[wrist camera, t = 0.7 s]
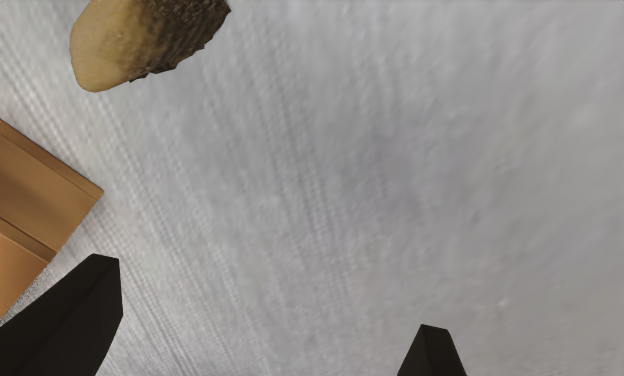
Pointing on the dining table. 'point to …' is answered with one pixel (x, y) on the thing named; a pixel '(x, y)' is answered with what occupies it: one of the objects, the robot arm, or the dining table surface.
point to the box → (41, 191)
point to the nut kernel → (139, 38)
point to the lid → (19, 263)
